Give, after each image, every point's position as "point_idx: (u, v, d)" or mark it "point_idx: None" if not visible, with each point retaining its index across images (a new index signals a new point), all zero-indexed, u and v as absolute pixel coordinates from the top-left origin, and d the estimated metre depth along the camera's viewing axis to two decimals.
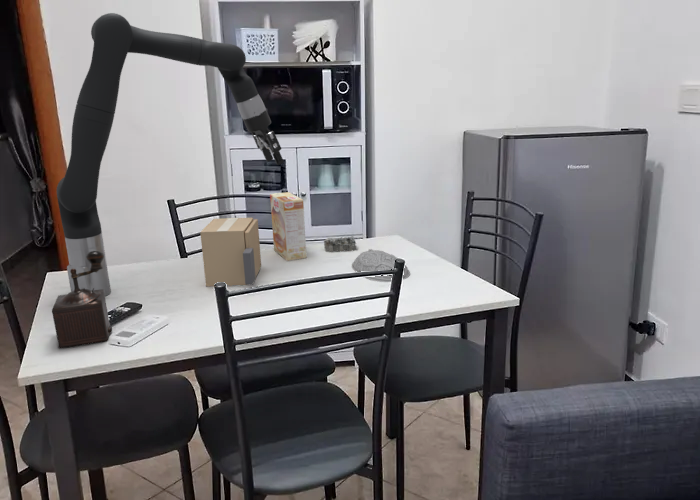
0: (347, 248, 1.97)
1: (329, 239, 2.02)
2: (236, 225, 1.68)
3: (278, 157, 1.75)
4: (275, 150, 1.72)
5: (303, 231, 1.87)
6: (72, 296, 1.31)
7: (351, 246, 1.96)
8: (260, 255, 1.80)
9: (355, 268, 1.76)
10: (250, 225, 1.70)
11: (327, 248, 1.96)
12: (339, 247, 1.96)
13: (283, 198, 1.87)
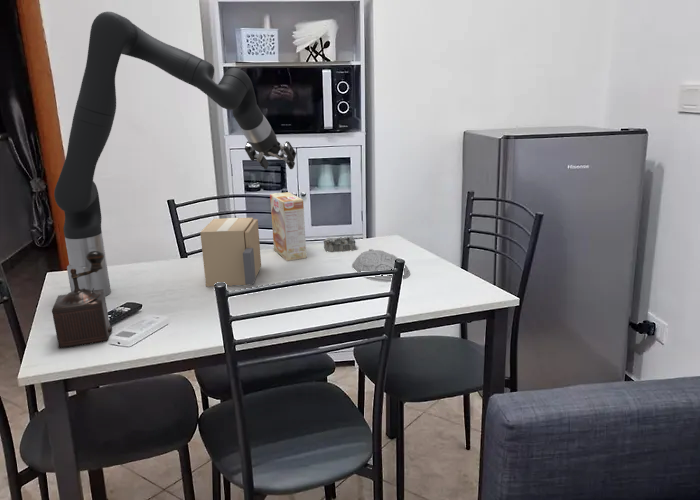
0: (347, 248, 1.98)
1: (328, 239, 2.02)
2: (236, 225, 1.68)
3: None
4: None
5: (303, 231, 1.87)
6: (72, 296, 1.31)
7: (351, 246, 1.97)
8: (260, 255, 1.80)
9: (355, 268, 1.77)
10: (250, 225, 1.70)
11: (327, 248, 1.96)
12: (339, 247, 1.96)
13: (283, 198, 1.87)
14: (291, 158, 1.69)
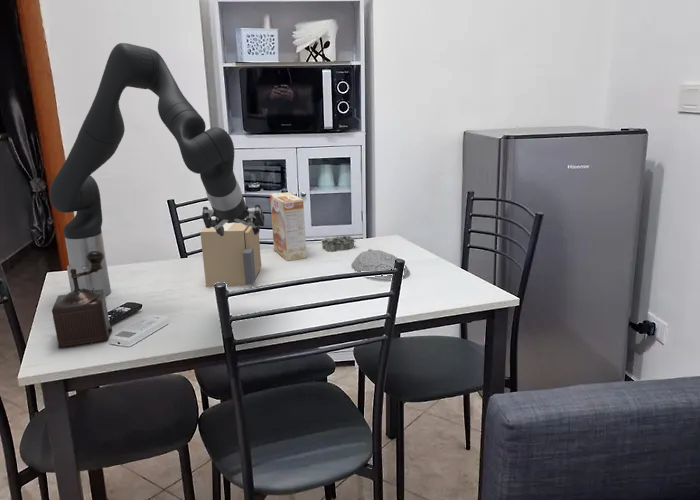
0: (347, 246, 1.99)
1: (326, 239, 2.02)
2: (236, 225, 1.68)
3: None
4: None
5: (303, 231, 1.87)
6: (72, 296, 1.31)
7: (351, 244, 1.99)
8: (260, 255, 1.80)
9: (355, 268, 1.76)
10: None
11: (328, 248, 1.97)
12: (340, 246, 1.97)
13: (283, 198, 1.87)
14: (261, 223, 1.42)
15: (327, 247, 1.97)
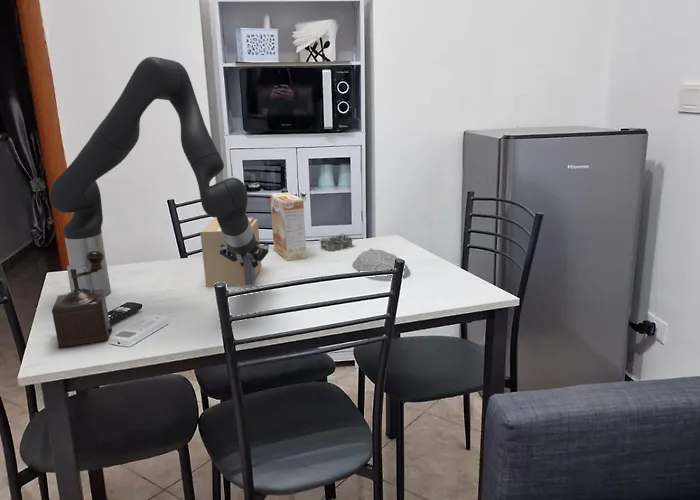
0: (345, 245, 2.01)
1: (323, 239, 2.02)
2: None
3: None
4: None
5: (303, 231, 1.87)
6: (72, 296, 1.31)
7: (350, 243, 2.00)
8: None
9: (356, 267, 1.77)
10: None
11: (329, 247, 1.97)
12: (340, 245, 1.99)
13: (283, 198, 1.87)
14: (259, 258, 1.58)
15: (328, 247, 1.97)
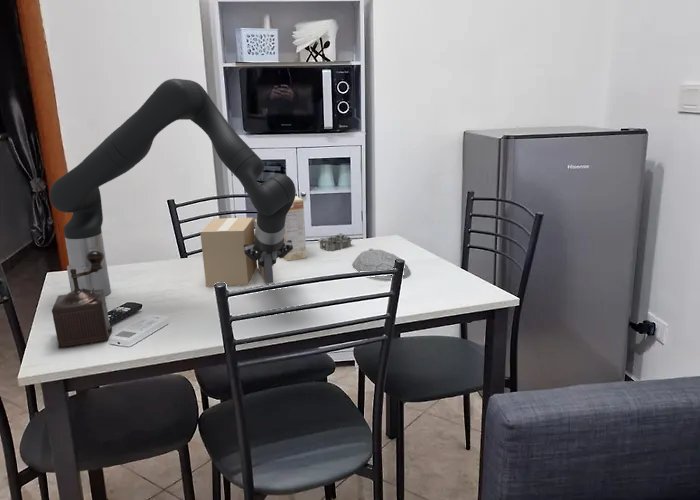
0: (344, 245, 2.01)
1: (322, 239, 2.02)
2: (236, 225, 1.68)
3: (258, 260, 1.62)
4: None
5: (303, 231, 1.87)
6: (72, 296, 1.31)
7: (349, 242, 2.01)
8: None
9: (356, 267, 1.77)
10: None
11: (329, 247, 1.97)
12: (339, 245, 1.99)
13: None
14: (281, 256, 1.60)
15: (328, 247, 1.97)
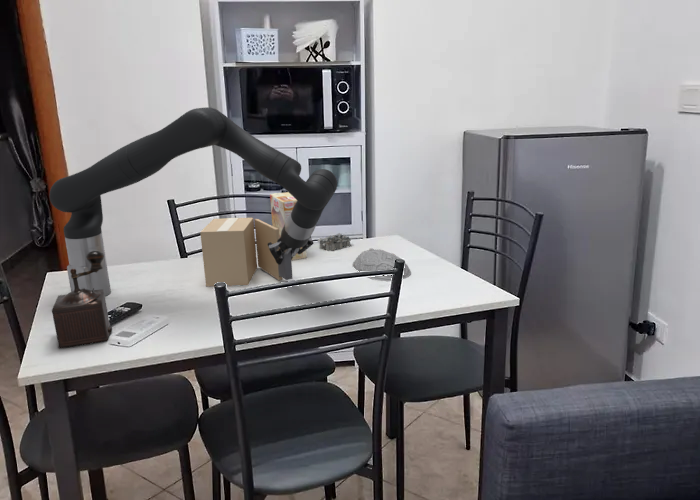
0: (344, 244, 2.02)
1: (321, 239, 2.02)
2: (236, 225, 1.68)
3: (276, 257, 1.63)
4: None
5: None
6: (72, 296, 1.31)
7: (348, 242, 2.02)
8: None
9: (356, 267, 1.77)
10: (265, 224, 1.71)
11: (329, 247, 1.97)
12: (339, 244, 1.99)
13: (283, 198, 1.87)
14: (300, 252, 1.63)
15: (328, 247, 1.97)
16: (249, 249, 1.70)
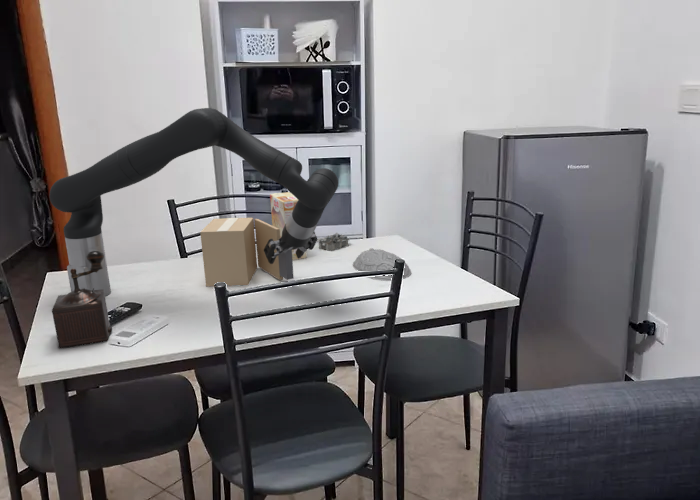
0: (343, 244, 2.02)
1: (320, 239, 2.02)
2: (236, 225, 1.68)
3: (268, 257, 1.61)
4: (264, 251, 1.58)
5: None
6: (72, 296, 1.31)
7: (347, 241, 2.02)
8: None
9: (356, 267, 1.77)
10: (265, 224, 1.71)
11: (329, 247, 1.97)
12: (339, 244, 2.00)
13: (283, 198, 1.87)
14: (312, 247, 1.64)
15: (328, 246, 1.97)
16: (249, 249, 1.70)
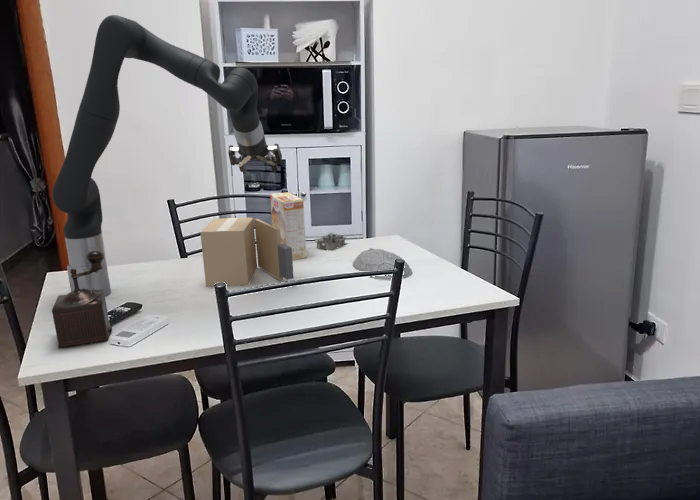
0: (340, 243, 2.03)
1: (317, 239, 2.02)
2: (236, 225, 1.68)
3: None
4: None
5: (303, 231, 1.87)
6: (72, 296, 1.31)
7: (344, 240, 2.04)
8: None
9: (357, 267, 1.77)
10: (265, 224, 1.71)
11: (329, 247, 1.98)
12: (337, 243, 2.01)
13: (283, 198, 1.87)
14: (279, 161, 1.64)
15: (328, 246, 1.98)
16: (249, 249, 1.70)
